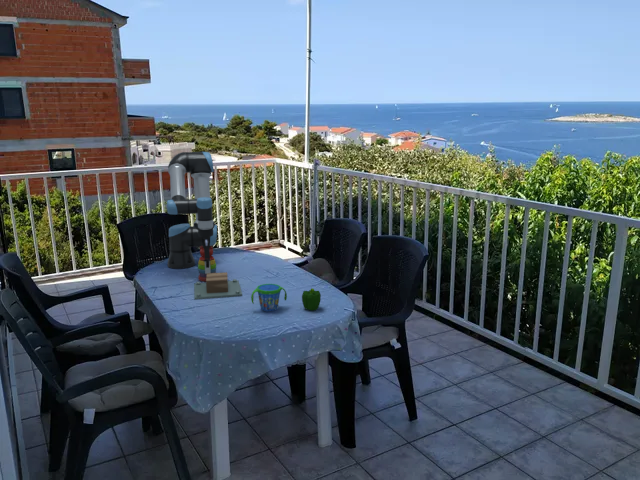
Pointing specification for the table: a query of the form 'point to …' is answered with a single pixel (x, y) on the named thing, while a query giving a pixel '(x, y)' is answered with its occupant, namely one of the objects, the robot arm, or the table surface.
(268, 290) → the snack cup
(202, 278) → the stacking bear
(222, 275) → the walnut brick
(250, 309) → the table surface
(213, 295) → the base plate
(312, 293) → the bell pepper
